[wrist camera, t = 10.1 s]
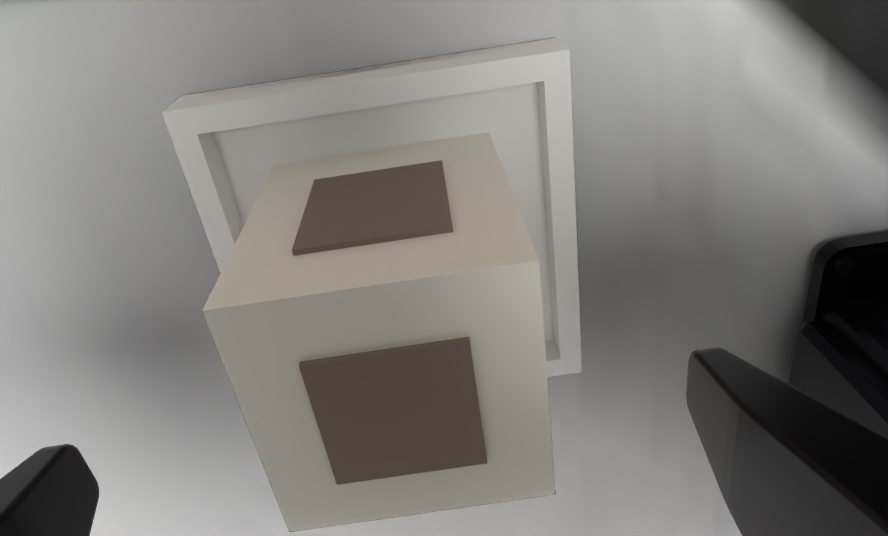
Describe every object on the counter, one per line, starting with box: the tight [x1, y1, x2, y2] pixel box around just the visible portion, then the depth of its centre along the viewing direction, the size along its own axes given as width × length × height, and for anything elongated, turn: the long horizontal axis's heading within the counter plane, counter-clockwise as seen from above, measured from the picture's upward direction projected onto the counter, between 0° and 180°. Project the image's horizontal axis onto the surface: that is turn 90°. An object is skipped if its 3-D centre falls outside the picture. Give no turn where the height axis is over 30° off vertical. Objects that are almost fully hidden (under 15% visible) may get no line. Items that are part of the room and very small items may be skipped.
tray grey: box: [162, 38, 582, 377], centre depth 14 cm, size 8×8×1 cm
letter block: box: [202, 132, 556, 532], centre depth 12 cm, size 4×5×6 cm
